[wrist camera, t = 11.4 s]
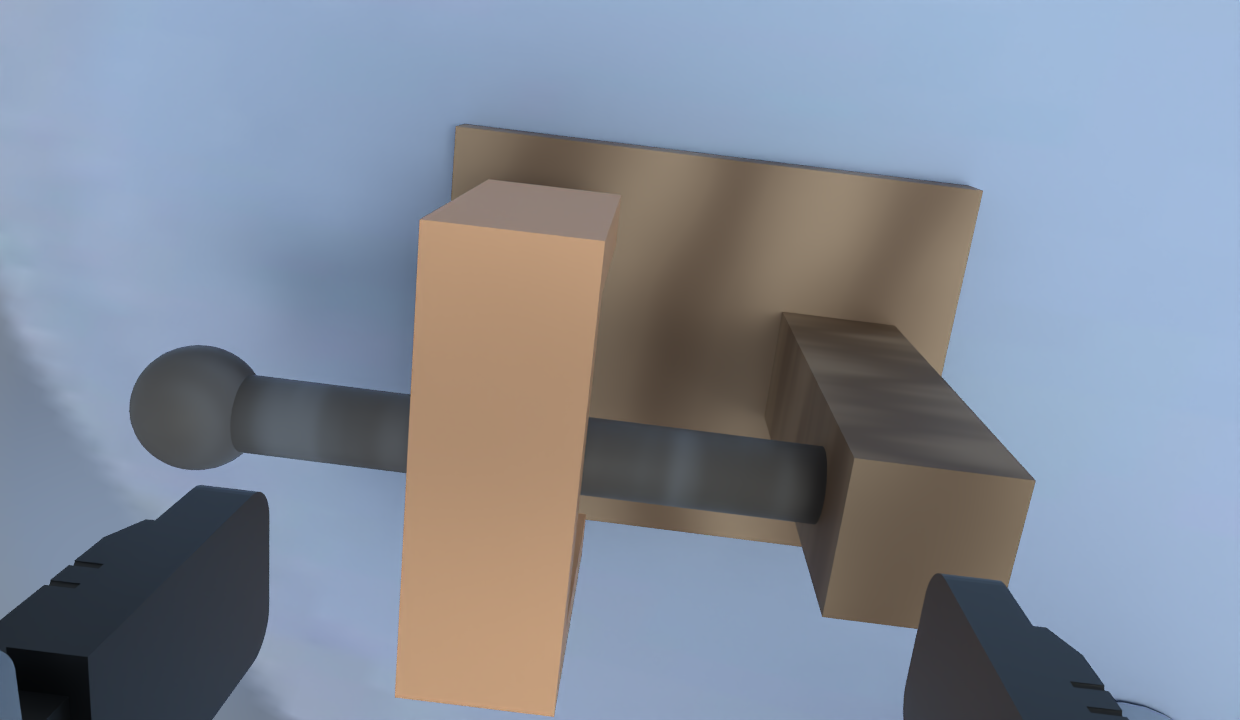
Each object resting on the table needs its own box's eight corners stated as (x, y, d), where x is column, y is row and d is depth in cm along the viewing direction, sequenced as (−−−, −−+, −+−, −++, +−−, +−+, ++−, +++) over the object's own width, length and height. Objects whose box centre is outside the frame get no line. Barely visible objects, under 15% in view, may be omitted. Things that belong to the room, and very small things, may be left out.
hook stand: (969, 185, 34) (1191, 269, 20) (891, 540, 38) (1028, 824, 24) (308, 104, 34) (52, 128, 20) (300, 466, 38) (82, 703, 24)
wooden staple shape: (581, 554, 32) (554, 716, 24) (462, 540, 32) (394, 697, 24) (621, 194, 29) (605, 241, 21) (488, 179, 29) (419, 219, 21)
